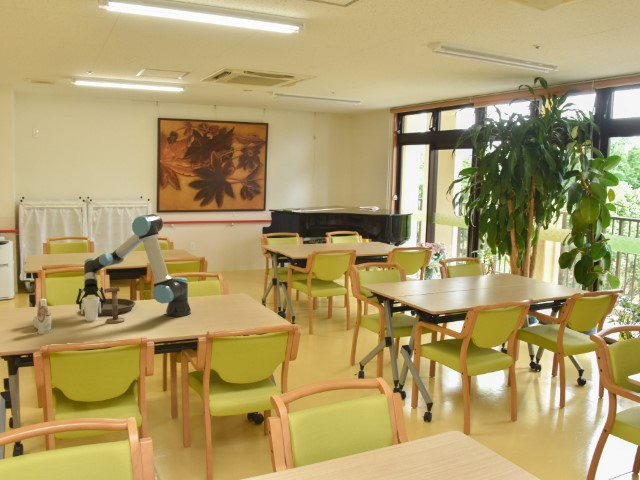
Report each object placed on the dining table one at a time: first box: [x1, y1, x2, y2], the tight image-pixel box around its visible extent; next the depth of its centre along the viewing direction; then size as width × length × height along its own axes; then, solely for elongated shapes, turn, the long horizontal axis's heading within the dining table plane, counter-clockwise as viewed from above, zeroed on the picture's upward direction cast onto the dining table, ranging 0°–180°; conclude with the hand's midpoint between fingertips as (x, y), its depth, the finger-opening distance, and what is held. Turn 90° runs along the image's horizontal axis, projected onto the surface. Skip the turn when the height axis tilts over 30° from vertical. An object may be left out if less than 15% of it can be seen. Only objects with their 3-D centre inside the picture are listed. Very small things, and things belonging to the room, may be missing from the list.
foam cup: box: [81, 296, 99, 322], centre depth 350 cm, size 10×9×13 cm
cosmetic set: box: [32, 298, 52, 335], centre depth 330 cm, size 25×9×19 cm, turn 32°
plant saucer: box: [98, 297, 136, 316], centre depth 374 cm, size 31×31×5 cm
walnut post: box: [103, 286, 125, 325], centre depth 347 cm, size 10×10×20 cm
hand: (91, 312), depth 347 cm, fingers closed on foam cup, 9 cm apart
